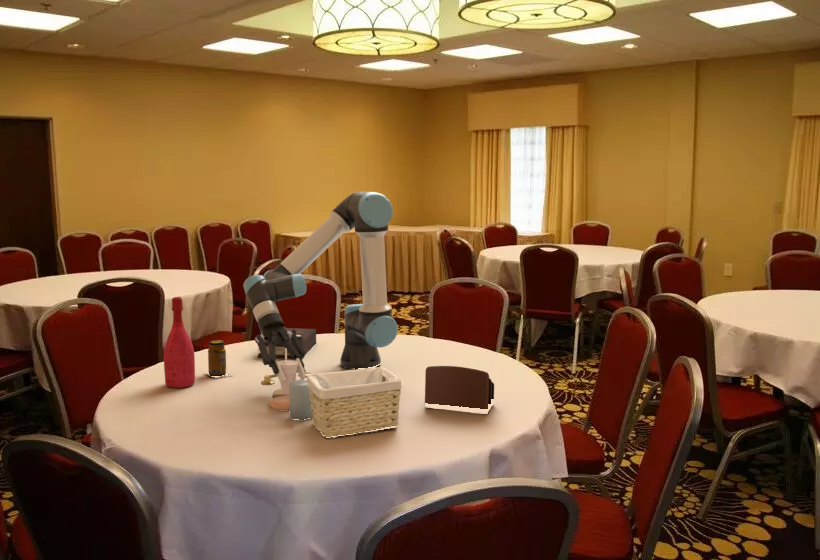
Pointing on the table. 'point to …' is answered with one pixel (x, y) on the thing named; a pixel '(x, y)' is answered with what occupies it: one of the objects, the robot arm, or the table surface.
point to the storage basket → (354, 400)
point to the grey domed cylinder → (299, 400)
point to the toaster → (458, 387)
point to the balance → (270, 382)
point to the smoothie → (288, 372)
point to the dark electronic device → (305, 338)
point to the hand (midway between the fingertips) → (293, 380)
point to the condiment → (217, 359)
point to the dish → (280, 403)
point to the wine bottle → (178, 352)
